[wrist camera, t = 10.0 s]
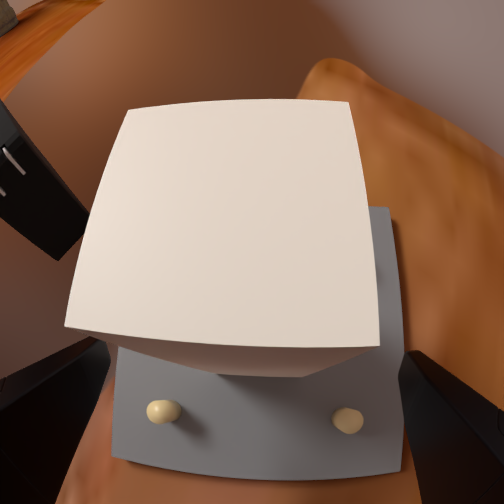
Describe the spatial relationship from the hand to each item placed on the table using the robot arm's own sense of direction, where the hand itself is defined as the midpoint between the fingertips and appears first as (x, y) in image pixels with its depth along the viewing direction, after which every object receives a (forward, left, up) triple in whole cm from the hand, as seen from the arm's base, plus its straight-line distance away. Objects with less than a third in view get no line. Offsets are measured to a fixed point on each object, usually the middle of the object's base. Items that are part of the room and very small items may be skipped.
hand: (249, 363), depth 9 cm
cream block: (+2, -1, -8) cm, 8 cm away
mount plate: (+2, -1, -9) cm, 9 cm away
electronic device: (+16, +12, -9) cm, 22 cm away
